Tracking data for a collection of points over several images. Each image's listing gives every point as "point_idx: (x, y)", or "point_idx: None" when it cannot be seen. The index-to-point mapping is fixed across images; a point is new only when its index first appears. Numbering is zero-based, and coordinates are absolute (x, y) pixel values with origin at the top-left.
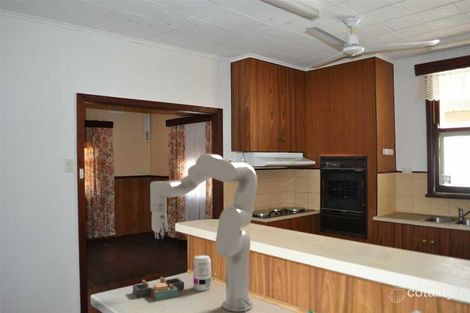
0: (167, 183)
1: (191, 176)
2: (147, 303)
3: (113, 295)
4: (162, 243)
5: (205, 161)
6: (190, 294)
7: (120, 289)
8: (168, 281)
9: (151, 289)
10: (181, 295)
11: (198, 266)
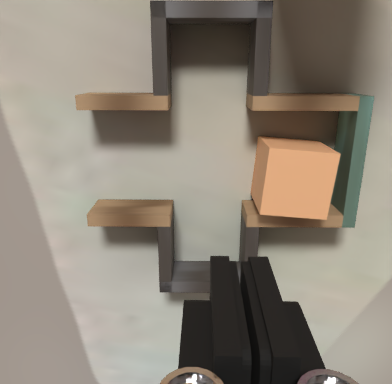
0: None
1: None
2: (341, 253)
3: (152, 344)
4: (275, 293)
5: None
6: (365, 9)
7: (80, 304)
8: (168, 83)
9: (267, 224)
10: (346, 66)
11: None
